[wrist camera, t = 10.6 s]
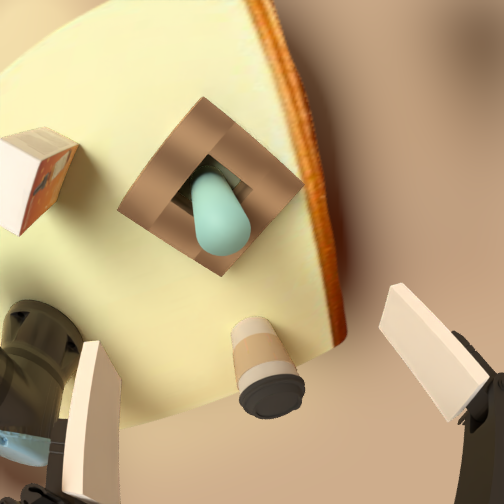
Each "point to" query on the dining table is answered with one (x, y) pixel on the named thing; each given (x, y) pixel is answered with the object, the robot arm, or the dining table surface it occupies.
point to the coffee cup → (264, 370)
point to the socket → (182, 166)
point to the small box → (31, 175)
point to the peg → (217, 213)
